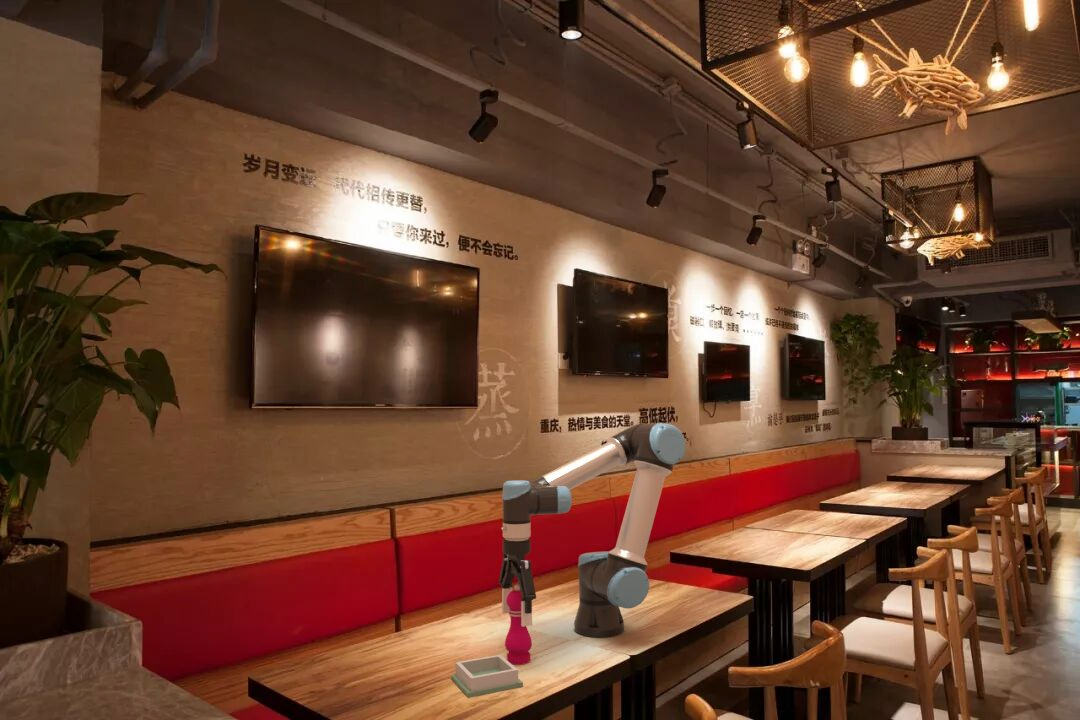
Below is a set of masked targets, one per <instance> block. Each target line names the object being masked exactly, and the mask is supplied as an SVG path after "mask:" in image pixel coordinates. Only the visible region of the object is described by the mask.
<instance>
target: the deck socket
mask: <svg viewBox="0 0 1080 720" xmlns="http://www.w3.org/2000/svg"><path fill="white" fill-rule="evenodd" d="M450 675H451V677H450V678H451V680H452V681H453V682H454V683H455V685H456V686H457V688H459V689H460V690H461V691H462V693H463V694H464V695H465V696H466V697H467V698H473V697H478V696H483V695H487V694H493V693H497V692H502V691H503V692H504V691H509V690H514V689H517V688H518V689H519V688H523V687H524V682H523V681H522V680H521V679H519V669H518V668H517V667H516V666H515V665H514V664H511V663H510V662H508V661H507V658H505V657H504V656H503V655H502V654H497V655H489V656H484V657H479V658H474V659H472V658H471V659H467V660H461V661H456V662H455V673H454V674H453V673H452V674H450Z"/></svg>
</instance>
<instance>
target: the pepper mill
mask: <svg viewBox="0 0 1080 720" xmlns="http://www.w3.org/2000/svg"><path fill="white" fill-rule="evenodd" d="M513 588H514V589H512V591H511V592H510V593H509V594H508V596H507V605H508V606H509V607H510V609H509V613H508V615H509V617H510V626H509V630H508V632H507V634H506V637H505V641H504V647H505V650H506V651H507V652H508V653H506V660H507V661H508V662H510V663H511V664H512V665H514V666H515V665H517V666H518V665H526V664H528V663H530V661H531V653H530V652H529V651H530V650H531V649H532V646H533V643H532V642H533V641H532V637H531V634H530V632H529V629H528V628H527V627H528V626H524V627H522V626H521V599H522V598H523V597H522V594H521V590H520V586H519V583H517V584H515V585H513Z"/></svg>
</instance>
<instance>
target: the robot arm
mask: <svg viewBox="0 0 1080 720" xmlns="http://www.w3.org/2000/svg"><path fill="white" fill-rule="evenodd" d="M686 445H687V444H686V439H685V436H684V435H683V433H682V431H681V430H680V429H679V428H678V427H677V426H675V425H673V424H671V423H670V424H669V423H665V422H658V423H655V422H653V423H646V422H642V423H637V424H634V425H632V426H629V427H628V428H625V429H623V430H622V431H619V432H618V433H617V434H614V435H613V436H610V437H609V438H608V439H607V441H606V443H604V444H602V445H601V446H598V447H596V448H594V449H593V450H591V451H589V452H587V453H585V454H583V455H580V456H579V457H577V458H574V459H573V460H571V461H569V462H567V463H565V464H563V465H560V466H559V467H557V468H556V469H553V470H551V471H550V472H547V473H546V474H543V475H542V476H540V477H537V478H536V479H534V480H531V481H529V480H522V479H521V480H520V479H519V480H507V481H505V482H504V483H503V485H502V496H501V500H502V527H501V530H502V537H503V538H504V539H502V564H501V568H500V574H499V578H498V584H499V585H500V587H501V590H502V593H501V597H502V598H501V599H502V600H501V603H502V604H501V607H502V608H501V609H502V610H501V611H502V614H509V609H510V607H509V606H508V605H507V596H508V594H509V593H510V592H511V591H513V588H514V585H513V581H514V579H515V578H516V579H517V582H518V583H517V584H519V586H520V590H521V594H522V597H523V598H522V599H521V626H522V627H524V626H526V627H530V626H533V600H536V599H537V594H536V588H535V582H534V577H533V572H532V561H531V560H529V559H528V560H526V556H527V555H528V554H530V553H531V539H530V537H531V533H532V531H531V528H532V527H531V525H532V524H531V516H536V515H554V514H555V515H560V514H566V513H569V511H570V510H571V508H572V504H573V503H572V499H573V498H572V493H571V490H573V489H575V488H576V487H579V486H580V485H582V484H584V483H586V482H588V481H589V480H592V479H594V478H596V477H597V476H599V475H602V474H603V473H605V472H608V471H609V470H611V469H613V468H615V467H616V466H621V467H623V466H625V465H627V464H630V463H632V462H633V463H634V466H635V467H636V473H635V476H634V480H633V483H632V485H631V486H632V487H631V490H630V494H629V497H628V501H627V503H626V504H627V505H626V508H625V512H624V515H623V519H622V523H621V525H620V530H619V533H618V536H617V540H616V544H615V547H614V548H613V549H611V550H609V551H593V552H585V553H582V554H580V555H579V557H578V565H577V568H578V591H579V592H578V595H579V603H578V608H577V611H576V615H575V618H574V623H573V625H574V626H573V627H574V628H573V631H574V632H576V634H579V635H580V636H584V637H585V636H586V637H591V638H606V637H607V638H608V637H613V636H619V635H620V634H623V632H624V631H625V621H624V618H623V616H622V613H621V609H620V608H623V609H633V608H636V607H637V606H638V605H641V604H642V603H643V602H644V601H645V599H646V597H647V596H648V594H649V590H650V580H649V577H648V575H647V574H646V572H647V568H648V562H647V561H646V559H645V554H646V551H647V548H648V544H649V540H650V536H651V531H652V529H653V525H654V521H655V517H656V513H657V509H658V506H659V501H660V498H661V495H662V490H663V487H664V482H665V480H666V478H667V476H669V475H670V474H672V473H673V470H674V466H675V464H677V463H678V462H680V461H681V460H682V459H683V458H684V457H685V456H684V455H685V454H686V448H687V446H686ZM512 587H513V588H512Z"/></svg>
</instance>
